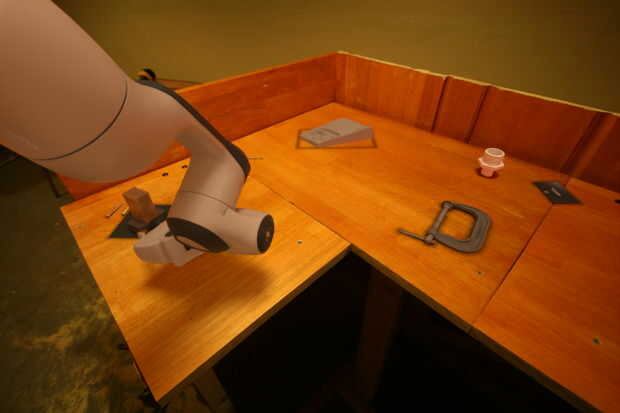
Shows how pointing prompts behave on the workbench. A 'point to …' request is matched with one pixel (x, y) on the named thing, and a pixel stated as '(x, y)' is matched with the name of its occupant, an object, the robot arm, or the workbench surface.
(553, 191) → the solid state drive
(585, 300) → the workbench surface
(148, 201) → the brown wooden block
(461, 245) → the c clamp
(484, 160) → the pipe fitting
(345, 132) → the ramp
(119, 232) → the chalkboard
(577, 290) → the workbench surface
